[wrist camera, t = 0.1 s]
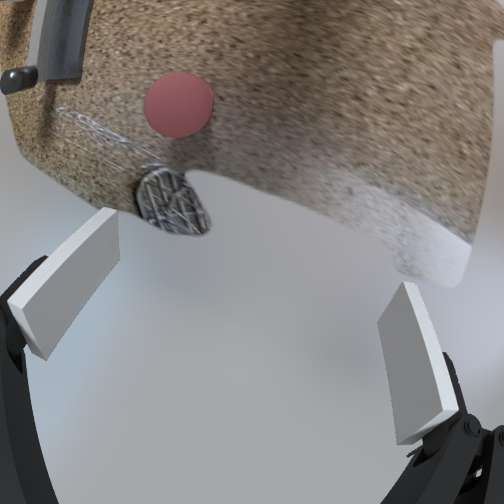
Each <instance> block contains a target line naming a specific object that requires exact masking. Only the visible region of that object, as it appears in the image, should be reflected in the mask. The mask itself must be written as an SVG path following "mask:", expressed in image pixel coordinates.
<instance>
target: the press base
mask: <svg viewBox="0 0 504 504" xmlns="http://www.w3.org/2000/svg"><path fill="white" fill-rule="evenodd" d="M93 1H94V0H58V4H57V9H56V14H55V19H54V24H53V30H52V36H51V43H50V50H49V59H48V68H47V80H50V79H65V78H79V77H81V75H82V66H83V57H84V50H85V43H86V37H87V31H88V26H89V20H90V15H91V10H92V6H93Z"/></svg>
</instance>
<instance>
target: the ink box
mask: <svg viewBox="0 0 504 504" xmlns="http://www.w3.org/2000/svg"><path fill="white" fill-rule="evenodd" d="M4 1H12V2H14V1H15V2H22V1H24V0H0V2H4Z"/></svg>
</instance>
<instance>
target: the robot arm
mask: <svg viewBox="0 0 504 504" xmlns="http://www.w3.org/2000/svg"><path fill="white" fill-rule="evenodd" d="M119 260H120V252H119V236H118V210H115V209H110V208H106V207H103V208H102V209H101V210H100V211H98V212H97V213H96V214H95V215H94V216H93V217H91V218H90V219H89V220H88V221H87V222H86V223H85V224H83V225H82V226H81V227H80V228H79V229H78V230H77V231H76V232H74V233H73V235H71V236H70V237H69V238H68V239H67V240H66V241H65V242H64V243H63V244H62V245H60V246H59V247H58V249H56V250H55V251H54V252H53V253H52V254H51V255H50V256H49V257H48V256H46V255H45V256H43V257H41V258H39V259H37V260H35V261H34V262H33V263H32V264H31V265H30V266H29V267H28V268H27V269H26V271H24V272H23V273H22V274H21V275H20V277H18V278H17V279H16V280H15V281H14V282H13V283H12V284H11V285H10V287H9V288H8V289H7V290H6V291H5V292H4V293H3V294H2V295H1V296H0V504H59V503H58V500H57V498H56V495H55V492H54V489H53V487H52V484H51V481H50V478H49V475H48V471H47V469H46V465H45V462H44V458H43V454H42V451H41V447H40V443H39V439H38V435H37V431H36V426H35V421H34V416H33V411H32V405H31V399H30V392H29V385H28V378H27V369H26V359H25V353H24V350H23V348H24V347H25V346H26V344H28V346H29V348H30V350H31V352H32V353H33V354H35V355H36V356H38V357H40V358H42V359H44V360H45V361H47V359H48V358H49V356H50V355H51V353H52V351H53V350H54V349H55V347H56V345H57V344H58V343H59V341H60V340H61V338H62V337H63V335H64V334H65V332H66V331H67V329H68V328H69V326H70V325H71V324H72V322H73V321H74V319H75V318H76V317H77V315H78V314H79V312H80V311H81V310H82V308H83V307H84V306H85V304H86V303H87V301H88V300H89V299H90V297H91V296H92V295H93V293H94V292H95V291H96V289H97V288H98V287H99V285H100V284H101V283H102V282H103V280H104V279H105V277H106V276H107V275H108V274H109V273H110V271H111V270H112V269H113V268H114V266H115V265H116V264H117V262H118V261H119ZM377 324H378V329H379V334H380V338H381V344H382V349H383V354H384V359H385V364H386V370H387V376H388V382H389V387H390V393H391V394H390V395H391V401H392V408H393V416H394V424H395V433H396V442H397V445H410V444H414V443H415V442H417V441H418V440H420V439H421V438H422V441H423V445H421V446H420V447H418V448H417V449H415V450H413V451H412V452H410V453H409V454H408V455H407V457H410V456H411V455H413V454H414V456H413V458H412V459H411V461H410V462H409V464H408V465H407V467H406V468H405V470H404V472H403V473H402V474H401V476H400V478H399V479H398V480H397V482H396V483H395V485H394V486H393V487H392V489H391V490H390V492H389V493H388V494H387V496H386V497H385V498H384V500H383V501H382V502H381V504H504V425H500V426H498V427H497V428H495V429H494V430H493V431H490V430H486V429H483V428H482V427H481V424H480V422H479V420H478V419H477V418H476V417H475V416H473V415H472V414H468V413H467V410H466V406H465V402H464V399H463V395H462V391H461V388H460V385H459V383H458V378H457V375H455V374H456V372H455V368H454V365H453V363H452V361H451V359H450V358H449V356H448V355H447V353H446V352H442V351H441V348H440V345H439V342H438V339H437V336H436V333H435V331H434V328H433V325H432V323H431V320H430V318H429V315H428V312H427V310H426V308H425V305H424V302H423V300H422V298H421V295H420V293H419V290H418V288H417V286H416V284H414V283H410V282H406V281H402V283H401V284H400V286H399V288H398V289H397V291H396V293H395V295H394V296H393V298H392V300H391V301H390V303H389V304H388V306H387V308H386V309H385V311H384V313H383V314H382V316H381V317H380V319H379V320H378V322H377ZM480 469H482V472H481V475H480V476H479V477H476V473H477V471H478V470H480Z"/></svg>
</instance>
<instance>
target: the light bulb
mask: <svg viewBox="0 0 504 504" xmlns="http://www.w3.org/2000/svg"><path fill="white" fill-rule="evenodd" d="M213 98H214V96H213V92H212V90H211V89H210V88H209V87H208V85H207V84H206V83H205V82H204V81H203V80H202V79H201V78H199V77H198V76H196V75H194V74H191V73H187V72H174V73H170V74H167V75H165V76H163V77H161V78H160V79H158V80H157V81H156V82H155V83H154V84H153V85H152V86H151V87H150V89H149V90H148V92H147V94H146V97H145V101H144V113H145V116H146V119H147V121H148V123H149V125H150V126H151V127H152V128H153V129H154V130H155V131H156V132H158V133H160V134H162V135H164V136H167V137H171V138H181V137H186V136H189V135H192V134H194V133H196V132H197V131H198V130H200V129H201V128H202V127H203V126H204V125H205V124H206V122H207V121H208V119H209V117H210V115H211V112H212V108H213Z"/></svg>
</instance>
